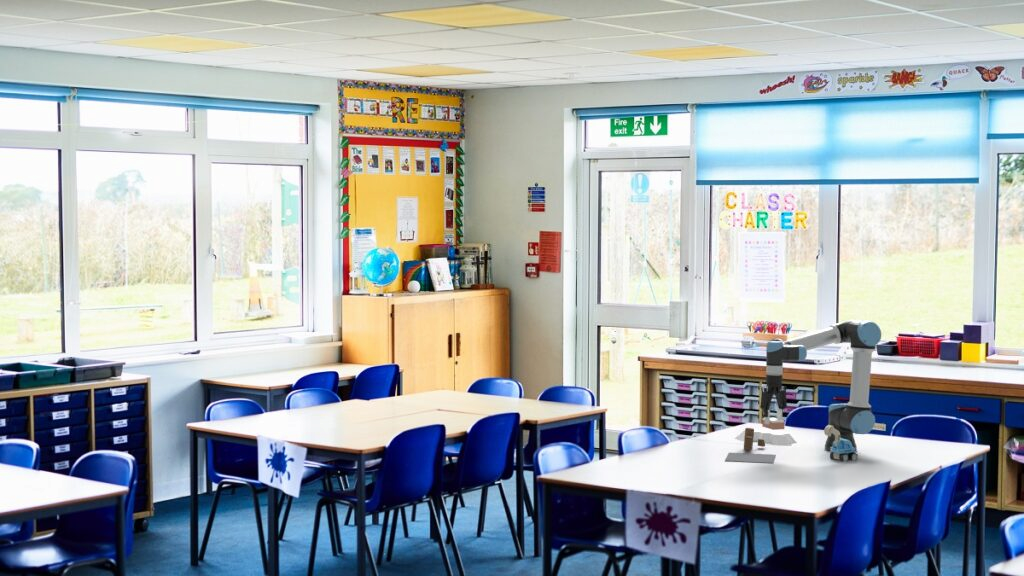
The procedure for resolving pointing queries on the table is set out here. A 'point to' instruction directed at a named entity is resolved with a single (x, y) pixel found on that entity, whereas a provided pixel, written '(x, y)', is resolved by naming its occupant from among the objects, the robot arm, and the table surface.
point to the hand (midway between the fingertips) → (773, 423)
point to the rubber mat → (750, 458)
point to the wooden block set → (751, 439)
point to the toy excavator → (840, 446)
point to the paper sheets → (770, 437)
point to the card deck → (774, 424)
